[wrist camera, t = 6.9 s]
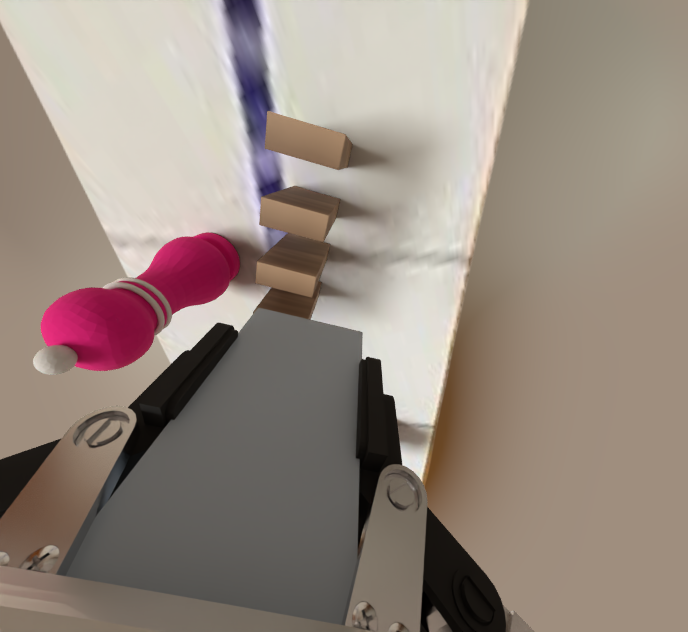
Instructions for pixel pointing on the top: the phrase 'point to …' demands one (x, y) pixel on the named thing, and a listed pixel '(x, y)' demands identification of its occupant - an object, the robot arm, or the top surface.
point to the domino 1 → (247, 481)
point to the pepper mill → (134, 306)
